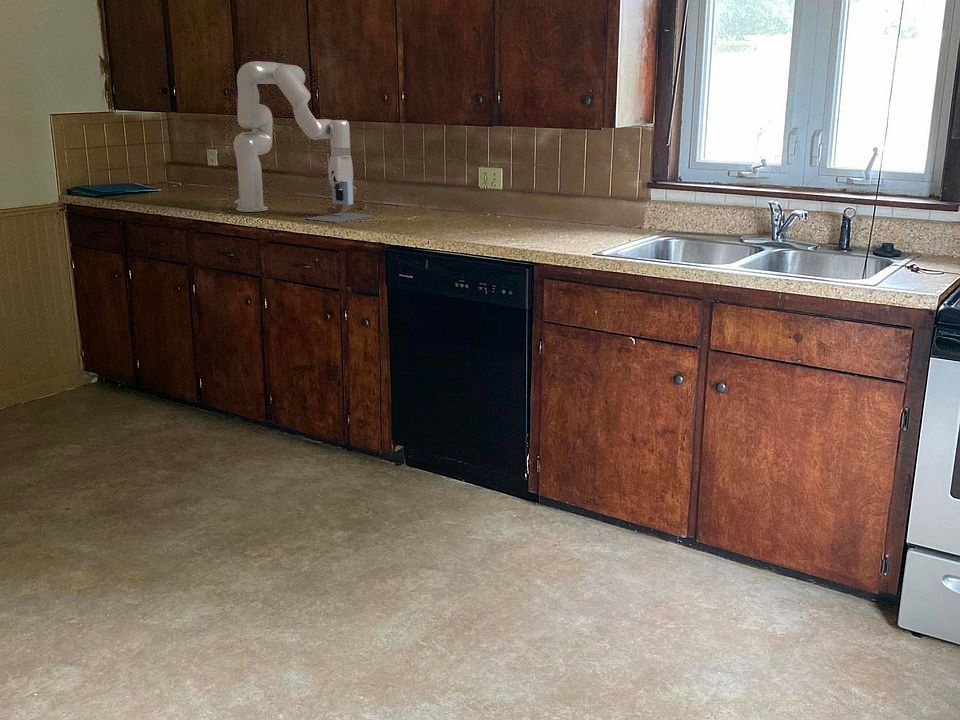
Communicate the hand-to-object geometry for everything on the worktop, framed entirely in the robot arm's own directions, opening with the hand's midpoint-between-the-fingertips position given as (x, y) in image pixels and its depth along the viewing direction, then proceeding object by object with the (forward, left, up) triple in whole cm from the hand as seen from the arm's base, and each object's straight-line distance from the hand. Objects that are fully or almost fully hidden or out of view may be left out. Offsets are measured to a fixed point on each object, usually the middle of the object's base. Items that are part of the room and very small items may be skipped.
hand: (342, 199), depth 376 cm
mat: (+1, -3, -7) cm, 8 cm away
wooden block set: (-10, +15, -7) cm, 20 cm away
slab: (0, 0, -2) cm, 2 cm away
